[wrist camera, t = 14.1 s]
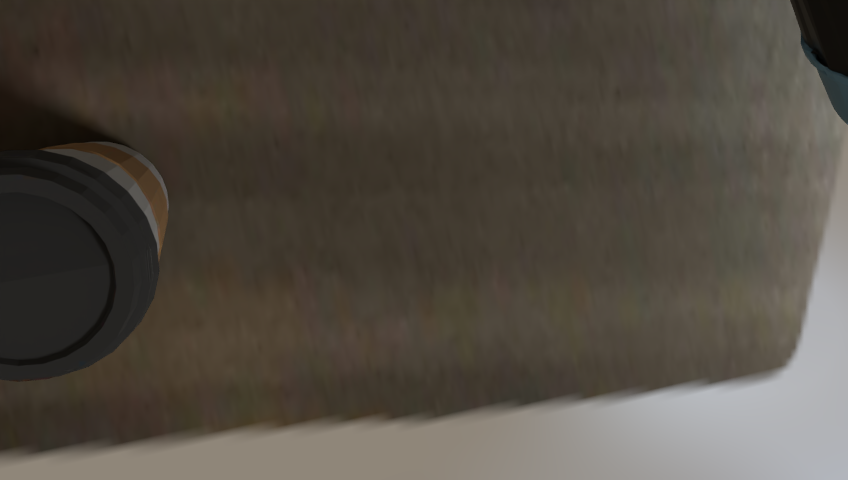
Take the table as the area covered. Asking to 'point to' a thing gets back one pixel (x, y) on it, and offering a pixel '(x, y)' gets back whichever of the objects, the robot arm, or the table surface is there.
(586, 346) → the table surface
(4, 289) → the coffee cup
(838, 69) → the robot arm
